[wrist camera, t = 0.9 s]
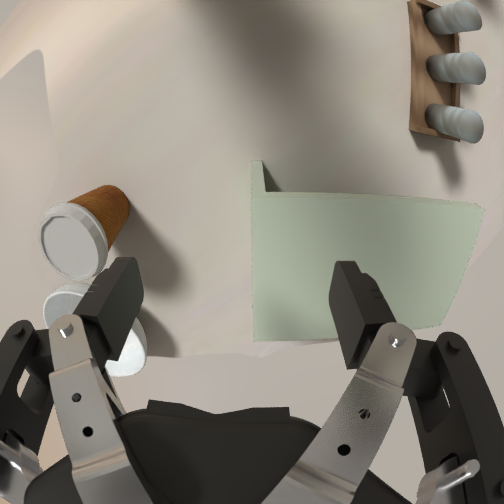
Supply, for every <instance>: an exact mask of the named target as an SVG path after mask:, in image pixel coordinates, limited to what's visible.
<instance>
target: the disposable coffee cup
mask: <svg viewBox="0 0 504 504" xmlns="http://www.w3.org/2000/svg"><path fill="white" fill-rule="evenodd" d="M128 215H129V202H128V200H127V198H126V196H125V194H124V193H123V192H122V191H121V190H120V189H119V188H117V187H115V186H111V185H104V186H101V187H99V188H97V189H95V190H93V191H90V192H88V193H86V194H83V195H81V196H79V197H77V198H75V199H73V200H71V201H69V202H67V203H58V204H56V205H54V206H52V207H51V208H49V209H48V210H47V212H46V213H45V215H44V217H43V220H42V222H41V224H40V226H39V232H38V239H39V245H40V248H41V251H42V253H43V255H44V257H45V259H46V260H47V262H48V263H49V265H50V266H51V267H52V268H53V269H54V270H55V271H56V272H57V273H59V274H60V275H62V276H63V277H65V278H68V279H70V280H74V281H83V280H86V279H89V278H91V277H94V276H96V275H97V274H99V273H100V272H101V271H102V269H103V268H104V266H105V264H106V260H107V256H108V252H109V250H110V248H111V246H112V244H113V242H114V240H115V239H116V237H117V235H118V233H119V231H120V230H121V228H122V226H123V224H124V223H125V221H126V219H127V218H128Z"/></svg>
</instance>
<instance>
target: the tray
mask: <svg viewBox="0 0 504 504" xmlns="http://www.w3.org/2000/svg"><path fill="white" fill-rule="evenodd" d="M407 4H408V13H409V24H410V39H411V105H410V121H409V129H410V130H413V131H416V132H419V133H423V134H428V135H433V136H438V137H442V138H446V139H450V140H454V141H458V142H460V139H461V140H464V141H467V142H469V143H477V142H478V141H480V139H481V138H482V135H483V131H484V126H483V121H482V118H481V116H480V115H479V114H478V113H477V112H476V111H473V110H469V109H464V108H459V105H460V83H466V84H476V85H480V84H482V83H483V82H484V81H485V78H486V70H485V66H484V64H483V62H482V60H481V59H480V57H479V56H478V55H476V54H475V53H472V52H466V53H460V50H459V36H458V33H459V32H467V31H475V30H479V29H481V27H482V20H481V17H480V14H479V13H478V11H477V10H476V8H475V7H474V6H473V5H472V4H471V3H469V2H467V1H460V2H456V3H452V4H449V5H445V6H442V7H441V6H439V5H436V4H434V3H432V2H429V1H427V0H411V1H409V2H407Z"/></svg>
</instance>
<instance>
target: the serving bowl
mask: <svg viewBox="0 0 504 504" xmlns="http://www.w3.org/2000/svg"><path fill="white" fill-rule="evenodd" d="M89 287H90V285H89V284H83V283H74V284H69V285H65V286H63V287H60V288H59V289H57V290H55V291H54V292H53V293H52V294H51V295H50V296H49V297H48V298H47V299H46V301H45V303H44V307H43V317H44V321H45V324H46V327H47V329H50V326H51V325H52V323H53V322H54V321H55V320H56V319H58V318H59V317H61V316H63V315H67V314H72V313H73V312H74V310H75V308H76V307H77V305H78V304H79V302H80V301H81V299H82V298H83V296H84V294H85V293H86V292H87V290H88V288H89ZM146 357H147V340H146V336H145V332H144V330H143V327H142V325H141V323H140V322H139V320H138V318H137V317H136V318H135V321H134V323H133V325H132V328H131V330H130V333H129V335H128V337H127V340H126V342H125V345H124V347H123V350H122V352H121V355H120V358H119V360H118V361H112V360H107V362H106V365H105V366H106V368H107V370H108V373H109V375H110V376H116V377H126V376H131V375H134V374H136V373H138V372H139V371H141V370H142V368H143V367H144V365H145V363H146Z"/></svg>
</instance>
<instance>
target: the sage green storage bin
mask: <svg viewBox="0 0 504 504" xmlns="http://www.w3.org/2000/svg"><path fill="white" fill-rule="evenodd" d="M484 211H485V209H484V208H482V207H481V206H479V205H478V204H476V203H467V202H459V201H449V200H440V199H429V198H417V197H405V196H390V195H373V194H352V193H322V192H266V191H265V182H264V174H263V166H262V161H252V174H251V236H252V287H253V338H254V342H257V341H296V340H316V339H332V338H338V334H337V331H336V327H335V324H334V320H333V317H332V314H331V310H330V307H329V290H330V285H331V280H332V275H333V270H334V266H335V263H336V261H355V262H356V263H357V265H358V267H359V269H360V271H361V273H367V274H368V275H370V276H371V277H372V278H373V279H374V280H375V281H376V282H377V284H378V286H379V288H380V291H381V292H382V294H383V295H384V298H385V299H386V301H387V303H388V305H389V307H390V309H391V311H392V313H393V315H394V317H395V319H396V321H397V323H400V324H403V325H405V326H407V327H408V328H409V329H411V330H415V329H422V328H428V327H434V326H440V325H441V324H442V322H443V320H444V318H445V316H446V314H447V312H448V310H449V307H450V305H451V303H452V301H453V299H454V297H455V294H456V292H457V290H458V287H459V285H460V282H461V280H462V277H463V275H464V272H465V270H466V267H467V265H468V262H469V259H470V256H471V253H472V251H473V248H474V245H475V242H476V238H477V235H478V232H479V229H480V225H481V222H482V218H483V214H484Z"/></svg>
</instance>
